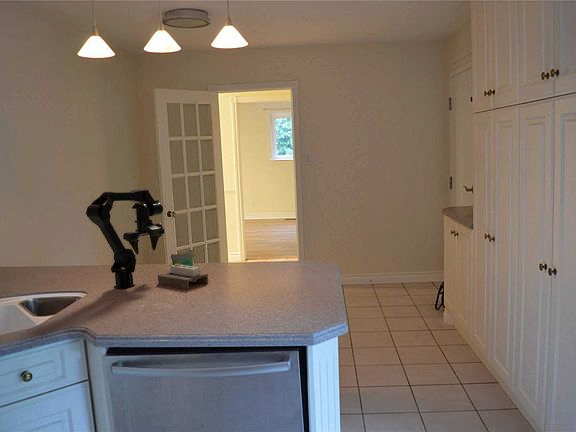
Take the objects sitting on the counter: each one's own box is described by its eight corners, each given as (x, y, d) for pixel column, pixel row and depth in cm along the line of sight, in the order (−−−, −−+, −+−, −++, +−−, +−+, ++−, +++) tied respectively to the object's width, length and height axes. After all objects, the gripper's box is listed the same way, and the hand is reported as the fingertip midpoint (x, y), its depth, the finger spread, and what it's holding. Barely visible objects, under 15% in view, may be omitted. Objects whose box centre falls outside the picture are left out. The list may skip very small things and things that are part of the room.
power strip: (193, 283, 219) (192, 268, 218) (171, 279, 227) (170, 264, 226) (200, 281, 222) (199, 266, 221) (178, 277, 230) (177, 262, 229)
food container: (180, 277, 234) (179, 255, 233) (171, 275, 238) (170, 254, 236) (200, 271, 244) (199, 250, 242) (191, 269, 247) (190, 249, 246)
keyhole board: (187, 289, 213) (186, 280, 213) (158, 284, 224) (157, 275, 223) (208, 282, 223) (207, 273, 222) (179, 277, 233) (178, 269, 233)
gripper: (137, 221, 218) (140, 258, 220) (171, 215, 233) (174, 250, 235) (120, 220, 225) (123, 255, 227) (155, 214, 240) (157, 248, 242)
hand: (145, 252), depth 232 cm, fingers open, 9 cm apart
